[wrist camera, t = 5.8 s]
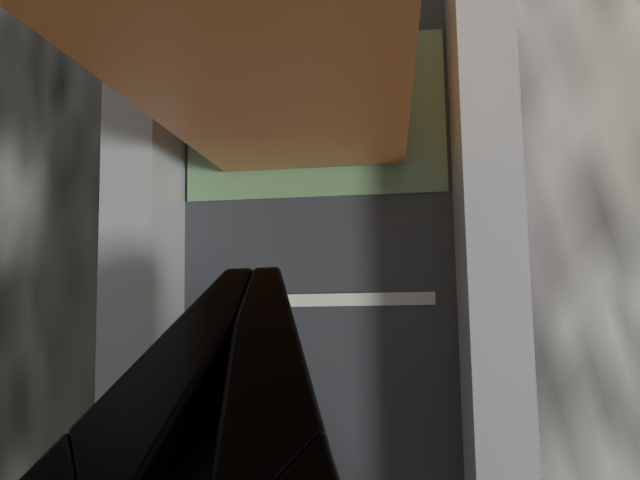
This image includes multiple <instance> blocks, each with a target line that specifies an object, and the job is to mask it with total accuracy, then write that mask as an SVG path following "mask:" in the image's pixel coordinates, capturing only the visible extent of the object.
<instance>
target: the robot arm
mask: <svg viewBox="0 0 640 480" xmlns="http://www.w3.org/2000/svg"><path fill="white" fill-rule="evenodd" d="M69 434H70V435H69ZM69 434H64V435H63V436H62V437H61V438H60V439H59V440H58V441H57V442H56V443H55V444H54V445H53V446H52V447H51V448H50V449H49V450H48V451H47V452H46V453H45V454H44V455H43V456H42V457H41V458H40V459H39V460H38V461H37V462H36V463H35V464H34V465H33V466H32V467H31V468H30V469H29V470H28V471H27V472H26V473H25V474H24V475H23V476H22V477H21V478H20V479H19V480H340V477H339V474H338V471H337V468H336V465H335V462H334V458H333V455H332V451H331V448H330V444H329V440H328V437H327V435H326V432H325V427H324V424H323V420H322V416H321V413H320V409H319V406H318V402H317V399H316V395H315V391H314V388H313V384H312V381H311V377H310V373H309V370H308V366H307V363H306V359H305V356H304V352H303V348H302V345H301V341H300V338H299V334H298V331H297V327H296V323H295V320H294V316H293V313H292V309H291V305H290V302H289V298H288V295H287V291H286V288H285V284H284V280H283V277H282V273H281V270H280V268H279V267H257V268H255V269H254V270H252V269H251V268H229V269H227V270H225V271H224V272H223V273H222V274H221V275H220V276H219V277H218V278H217V279H216V280H215V281H214V282H213V283H212V284H211V285H210V286H209V287H208V288H207V289H206V290H205V291H204V292H203V293H202V294H201V295H200V296H199V297H198V298H197V299H196V300H195V301H194V302H193V303H192V304H191V305H190V306H189V307H188V308H187V309H186V310H185V311H184V312H183V314H182V315H181V316H180V317H179V318H178V319H177V320H176V321H175V322H174V323H173V324H172V325H171V326H170V327H169V328H168V329H167V330H166V331H165V332H164V333H163V334H162V335H161V336H160V337H159V338H158V339H157V340H156V341H155V342H154V343H153V344H152V345H151V346H150V347H149V348H148V349H147V350H146V351H145V352H144V353H143V354H142V355H141V356H140V357H139V359H138V360H137V361H136V362H135V363H134V364H133V365H132V366H131V367H130V368H129V369H128V370H127V371H126V372H125V373H124V374H123V375H122V376H121V377H120V378H119V379H118V380H117V381H116V382H115V383H114V384H113V385H112V386H111V387H110V388H109V389H108V390H107V391H106V392H105V393H104V394H103V395H102V396H101V397H100V398H99V399H98V400H97V401H96V402H95V404H94V405H93V406H92V407H91V408H90V409H89V410H88V411H87V412H86V413H85V414H84V415H83V416H82V417H81V418H80V419H79V420H78V421H77V422H76V423H75V424H74V425H73V426H72V427H71V428H70V430H69Z"/></svg>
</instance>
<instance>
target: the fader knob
mask: <svg viewBox="0 0 640 480" xmlns="http://www.w3.org/2000/svg"><path fill="white" fill-rule="evenodd" d="M421 1H422V0H0V6H1V7H2V8H4V9H5V10H6V11H8V12H9V13H10V14H12V15H13V16H15V17H16V18H17V19H19V20H20V21H21V22H23V23H24V24H25V25H27V26H28V27H29V28H31V29H32V30H33V31H35V32H36V33H37V34H39V35H40V36H42V37H43V38H44V39H46V40H47V41H48V42H50V43H51V44H52V45H54V46H55V47H56V48H58V49H59V50H60V51H62V52H63V53H64V54H66V55H67V56H69V57H70V58H71V59H73V60H74V61H75V62H77V63H78V64H79V65H81V66H82V67H83V68H85V69H86V70H87V71H89V72H90V73H92V74H93V75H94V76H96V77H97V78H98V79H100V80H101V81H102V82H104V83H105V84H106V85H108V86H109V87H110V88H112V89H113V90H114V91H116V92H117V93H119V94H120V95H121V96H123V97H124V98H125V99H127V100H128V101H129V102H131V103H132V104H133V105H135V106H136V107H137V108H139V109H140V110H141V111H143V112H144V113H146V114H147V115H148V116H150V117H151V118H152V119H154V120H155V121H156V122H158V123H159V124H160V125H162V126H163V127H164V128H166V129H167V130H168V131H170V132H171V133H173V134H174V135H175V136H177V137H178V138H179V139H181V140H182V141H183V142H185V143H186V144H187V145H189V146H190V147H191V148H193V149H194V150H195V151H197V152H198V153H200V154H201V155H202V156H204V157H205V158H206V159H208V160H209V161H210V162H212V163H213V164H214V165H216V166H217V167H218V168H220V169H221V170H222V171H224V172H227V171H249V170H270V169H292V168H314V167H336V166H358V165H379V164H401V163H405V160H406V150H407V140H408V130H409V120H410V110H411V100H412V90H413V80H414V70H415V60H416V51H417V41H418V31H419V21H420V11H421Z"/></svg>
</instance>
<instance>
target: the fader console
mask: <svg viewBox="0 0 640 480" xmlns="http://www.w3.org/2000/svg"><path fill="white" fill-rule="evenodd" d="M257 267H279V268H280V270H281V273H282V277H283V280H284V284H285V288H286V291H287V295H288V298H289V302H290V305H291V309H292V313H293V316H294V320H295V323H296V327H297V331H298V334H299V338H300V341H301V345H302V348H303V352H304V356H305V359H306V363H307V366H308V370H309V373H310V377H311V381H312V384H313V388H314V391H315V395H316V399H317V402H318V406H319V409H320V413H321V416H322V420H323V424H324V427H325V432H326V435H327V437H328V440H329V444H330V448H331V451H332V455H333V458H334V462H335V465H336V468H337V471H338V474H339V477H340V480H542V478H541V460H540V441H539V423H538V405H537V387H536V368H535V350H534V332H533V314H532V295H531V277H530V259H529V241H528V222H527V204H526V186H525V168H524V149H523V131H522V113H521V95H520V76H519V58H518V40H517V22H516V3H515V0H422V1H421V11H420V21H419V31H418V41H417V51H416V60H415V70H414V80H413V90H412V100H411V110H410V120H409V130H408V140H407V150H406V160H405V163H401V164H379V165H358V166H336V167H314V168H292V169H270V170H249V171H227V172H224V171H222V170H221V169H220V168H218V167H217V166H216V165H214V164H213V163H212V162H210V161H209V160H208V159H206V158H205V157H204V156H202V155H201V154H200V153H198V152H197V151H195V150H194V149H193V148H191V147H190V146H189V145H187V144H186V143H185V142H183V141H182V140H181V139H179V138H178V137H177V136H175V135H174V134H173V133H171V132H170V131H168V130H167V129H166V128H164V127H163V126H162V125H160V124H159V123H158V122H156V121H155V120H154V119H152V118H151V117H150V116H148V115H147V114H146V113H144V112H143V111H141V110H140V109H139V108H137V107H136V106H135V105H133V104H132V103H131V102H129V101H128V100H127V99H125V98H124V97H123V96H121V95H120V94H119V93H117V92H116V91H114V90H113V89H112V88H110V87H109V86H108V85H106V84H105V83H104V82H102V100H101V142H100V185H99V228H98V271H97V314H96V357H95V400H94V404H95V402H96V401H97V400H98V399H99V398H100V397H101V396H102V395H103V394H104V393H105V392H106V391H107V390H108V389H109V388H110V387H111V386H112V385H113V384H114V383H115V382H116V381H117V380H118V379H119V378H120V377H121V376H122V375H123V374H124V373H125V372H126V371H127V370H128V369H129V368H130V367H131V366H132V365H133V364H134V363H135V362H136V361H137V360H138V359H139V357H140V356H141V355H142V354H143V353H144V352H145V351H146V350H147V349H148V348H149V347H150V346H151V345H152V344H153V343H154V342H155V341H156V340H157V339H158V338H159V337H160V336H161V335H162V334H163V333H164V332H165V331H166V330H167V329H168V328H169V327H170V326H171V325H172V324H173V323H174V322H175V321H176V320H177V319H178V318H179V317H180V316H181V315H182V314H183V312H184V311H185V310H186V309H187V308H188V307H189V306H190V305H191V304H192V303H193V302H194V301H195V300H196V299H197V298H198V297H199V296H200V295H201V294H202V293H203V292H204V291H205V290H206V289H207V288H208V287H209V286H210V285H211V284H212V283H213V282H214V281H215V280H216V279H217V278H218V277H219V276H220V275H221V274H222V273H223V272H224V271H225V270H227V269H229V268H251V269H252V270H254V269H255V268H257Z"/></svg>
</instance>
